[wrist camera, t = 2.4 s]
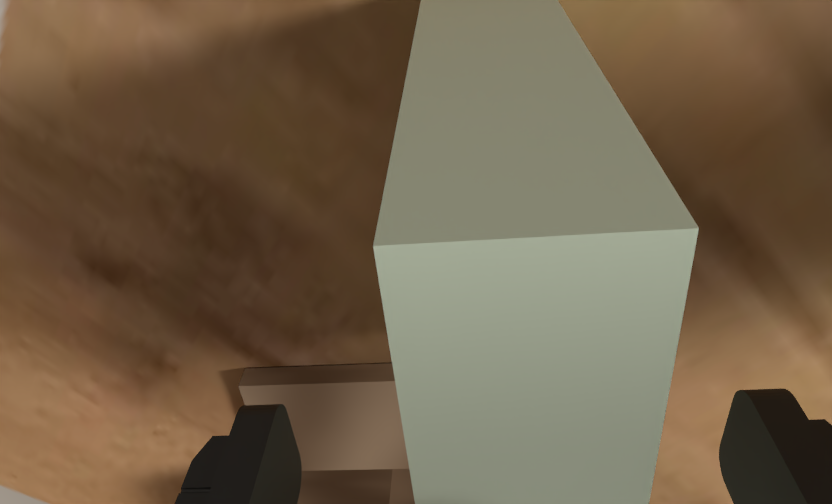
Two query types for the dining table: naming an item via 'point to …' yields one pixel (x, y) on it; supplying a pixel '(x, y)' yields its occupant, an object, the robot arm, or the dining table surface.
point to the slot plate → (340, 430)
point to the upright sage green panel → (526, 266)
